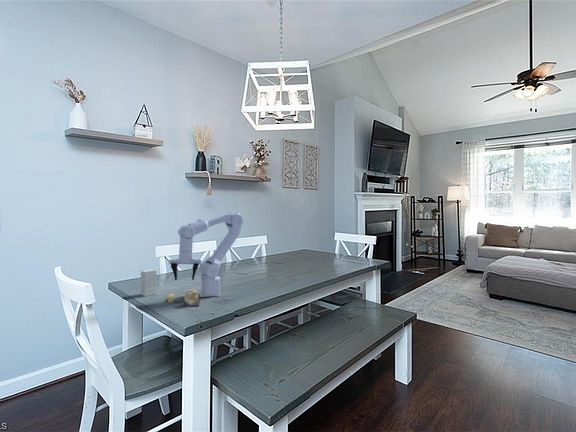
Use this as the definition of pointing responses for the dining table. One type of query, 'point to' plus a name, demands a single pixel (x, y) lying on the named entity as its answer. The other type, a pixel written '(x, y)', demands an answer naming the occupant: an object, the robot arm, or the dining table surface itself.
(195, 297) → the plug block
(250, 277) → the dining table surface
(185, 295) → the pair of wooden bars
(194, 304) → the rubber mat
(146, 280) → the skincare box
